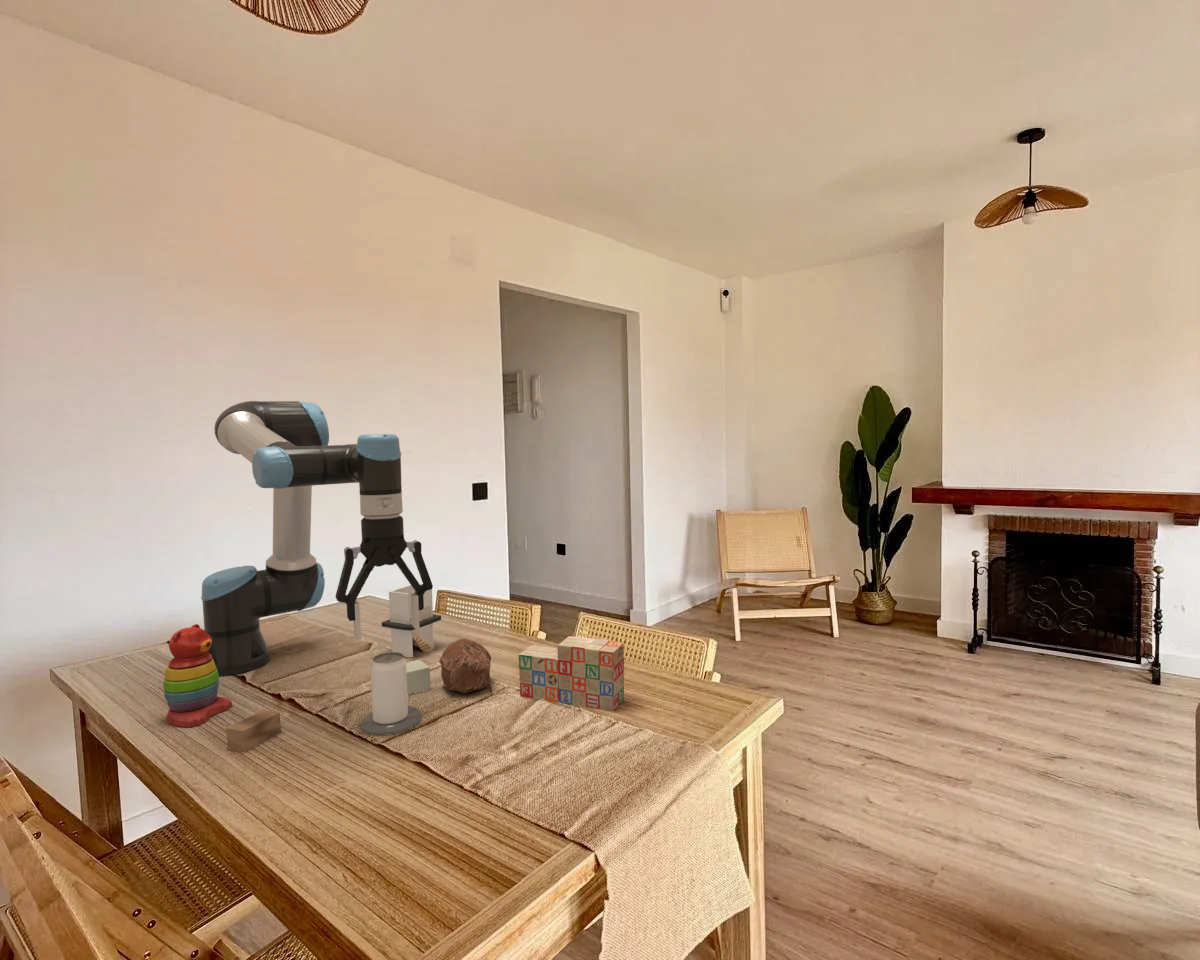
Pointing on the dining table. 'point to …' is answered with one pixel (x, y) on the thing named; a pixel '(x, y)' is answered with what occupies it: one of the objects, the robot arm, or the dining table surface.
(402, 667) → the can
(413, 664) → the sage block
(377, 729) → the slate coaster
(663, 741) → the dining table surface
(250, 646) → the robot arm
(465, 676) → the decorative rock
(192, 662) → the stacking bear
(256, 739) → the walnut block
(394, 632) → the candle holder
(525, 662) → the stack of blocks
